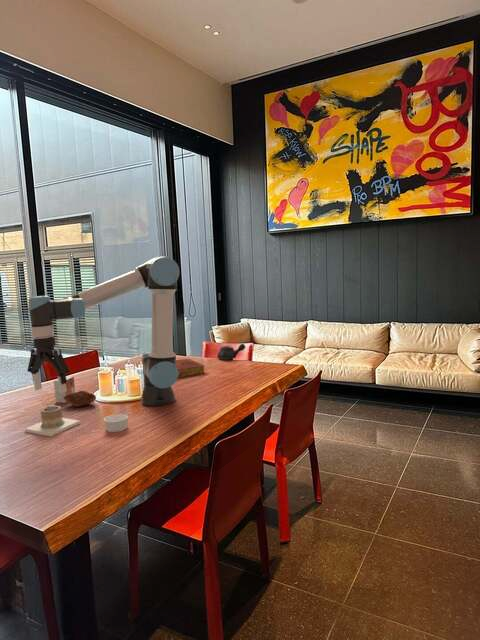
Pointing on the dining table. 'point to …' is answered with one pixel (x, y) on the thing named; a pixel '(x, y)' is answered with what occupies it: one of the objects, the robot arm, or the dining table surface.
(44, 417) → the maple ring
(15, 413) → the dining table surface
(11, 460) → the dining table surface
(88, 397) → the fossil
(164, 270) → the robot arm
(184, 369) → the book
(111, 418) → the ramekin
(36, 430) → the post stand
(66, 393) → the small box
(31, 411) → the dining table surface
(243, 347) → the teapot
